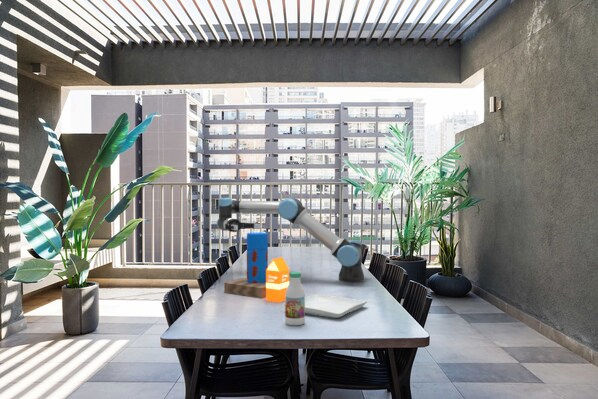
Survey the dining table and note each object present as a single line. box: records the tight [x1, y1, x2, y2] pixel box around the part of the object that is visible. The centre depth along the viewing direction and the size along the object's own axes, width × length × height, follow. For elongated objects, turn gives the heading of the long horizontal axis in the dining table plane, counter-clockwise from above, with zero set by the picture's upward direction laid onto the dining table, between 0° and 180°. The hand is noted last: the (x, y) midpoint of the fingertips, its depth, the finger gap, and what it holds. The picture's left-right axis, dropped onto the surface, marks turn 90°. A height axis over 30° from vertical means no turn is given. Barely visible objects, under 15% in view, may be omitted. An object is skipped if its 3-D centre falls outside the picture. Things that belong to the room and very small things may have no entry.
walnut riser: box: [223, 276, 266, 299], centre depth 245 cm, size 24×24×5 cm
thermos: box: [246, 232, 269, 283], centre depth 245 cm, size 11×11×25 cm
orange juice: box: [265, 256, 290, 303], centre depth 226 cm, size 8×9×20 cm
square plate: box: [305, 293, 368, 319], centre depth 207 cm, size 27×27×4 cm
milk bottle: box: [284, 271, 306, 326], centre depth 186 cm, size 8×8×20 cm
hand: (248, 227), depth 253 cm, fingers open, 13 cm apart
